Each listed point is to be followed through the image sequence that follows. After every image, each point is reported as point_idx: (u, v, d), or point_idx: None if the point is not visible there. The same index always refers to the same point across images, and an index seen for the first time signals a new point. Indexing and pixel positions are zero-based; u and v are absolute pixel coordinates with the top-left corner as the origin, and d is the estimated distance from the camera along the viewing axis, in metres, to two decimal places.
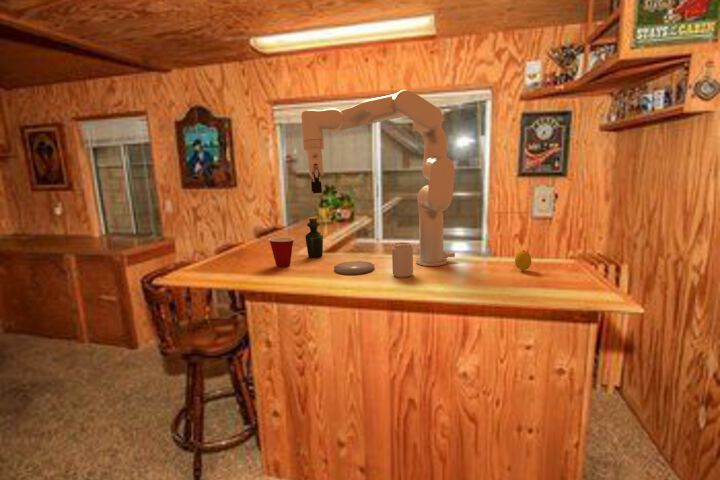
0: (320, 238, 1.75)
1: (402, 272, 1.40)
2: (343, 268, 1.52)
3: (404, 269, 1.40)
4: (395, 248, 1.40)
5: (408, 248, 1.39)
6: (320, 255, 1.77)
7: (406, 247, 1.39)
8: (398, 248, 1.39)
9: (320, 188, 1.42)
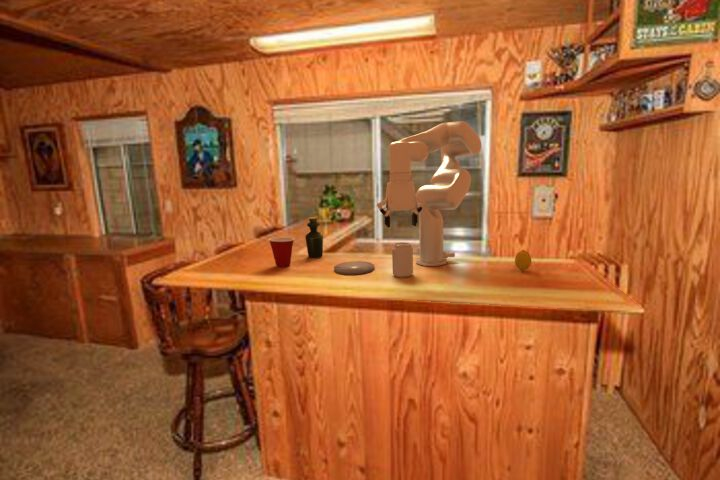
0: (320, 238, 1.75)
1: (402, 272, 1.40)
2: (343, 268, 1.52)
3: (404, 269, 1.40)
4: (395, 248, 1.40)
5: (408, 248, 1.39)
6: (320, 255, 1.77)
7: (406, 247, 1.39)
8: (398, 248, 1.39)
9: None
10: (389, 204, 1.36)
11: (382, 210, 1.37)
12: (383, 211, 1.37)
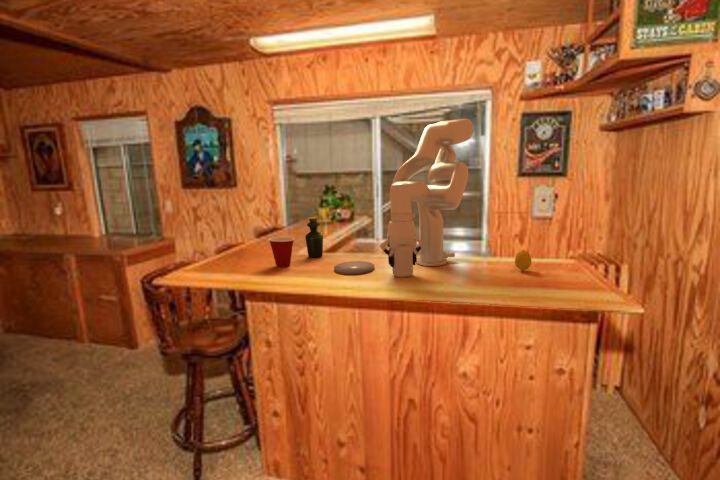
0: (320, 238, 1.75)
1: (402, 272, 1.40)
2: (343, 268, 1.52)
3: (404, 269, 1.40)
4: None
5: (408, 248, 1.39)
6: (320, 255, 1.77)
7: (406, 247, 1.39)
8: (398, 248, 1.39)
9: None
10: (391, 244, 1.39)
11: (386, 250, 1.41)
12: (387, 251, 1.41)
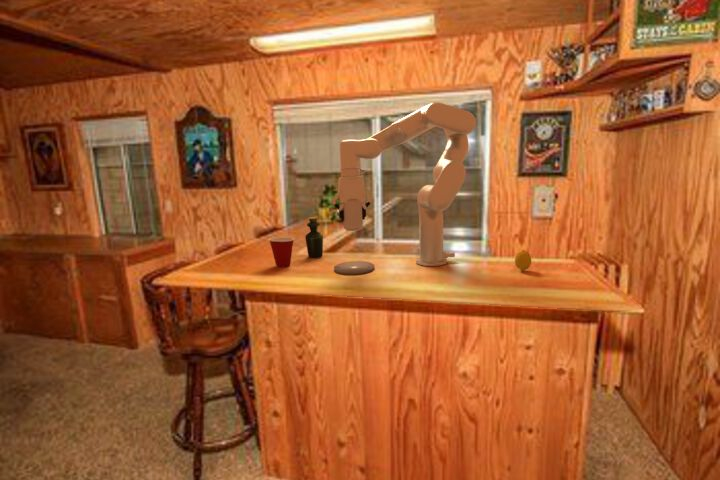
0: (320, 238, 1.75)
1: (352, 225, 1.48)
2: (343, 268, 1.52)
3: (353, 222, 1.48)
4: None
5: (357, 202, 1.47)
6: (320, 255, 1.77)
7: (355, 201, 1.47)
8: (347, 202, 1.47)
9: None
10: (340, 198, 1.47)
11: (336, 205, 1.48)
12: (337, 206, 1.48)
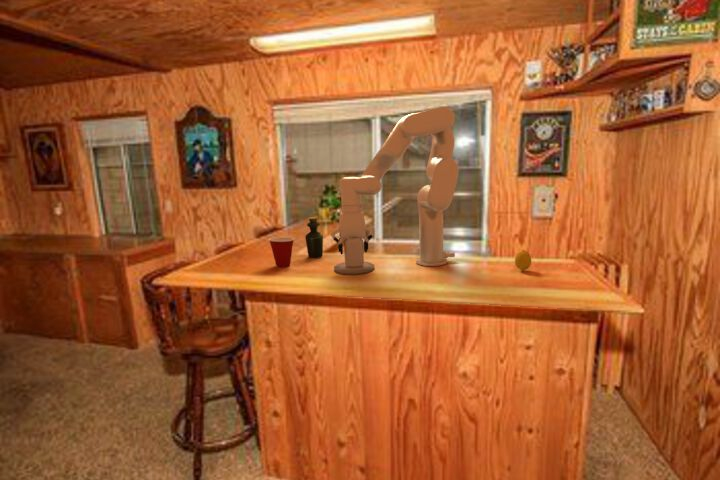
0: (320, 238, 1.75)
1: (353, 263, 1.51)
2: (343, 268, 1.52)
3: (354, 260, 1.51)
4: (346, 240, 1.51)
5: (358, 240, 1.50)
6: (320, 255, 1.77)
7: (356, 239, 1.50)
8: (349, 240, 1.50)
9: None
10: (341, 233, 1.50)
11: (335, 239, 1.51)
12: (336, 239, 1.51)
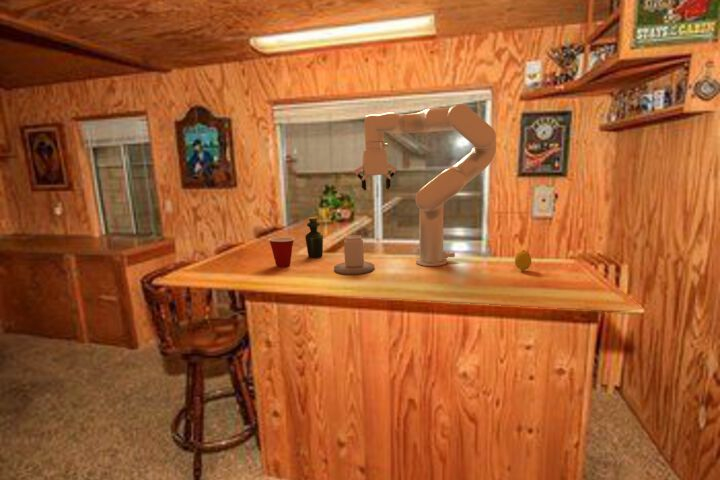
0: (320, 238, 1.75)
1: (353, 263, 1.51)
2: (343, 268, 1.52)
3: (354, 260, 1.51)
4: (346, 240, 1.51)
5: (358, 240, 1.50)
6: (320, 255, 1.77)
7: (356, 239, 1.50)
8: (349, 240, 1.50)
9: None
10: (365, 169, 1.57)
11: (359, 175, 1.58)
12: (360, 176, 1.58)
